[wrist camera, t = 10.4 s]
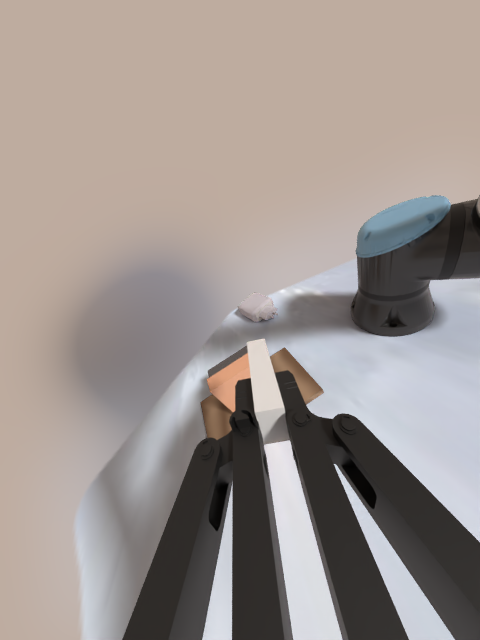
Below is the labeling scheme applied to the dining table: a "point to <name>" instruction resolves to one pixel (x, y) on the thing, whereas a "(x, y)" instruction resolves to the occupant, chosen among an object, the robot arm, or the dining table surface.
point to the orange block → (229, 381)
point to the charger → (257, 307)
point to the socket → (227, 361)
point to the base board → (281, 361)
